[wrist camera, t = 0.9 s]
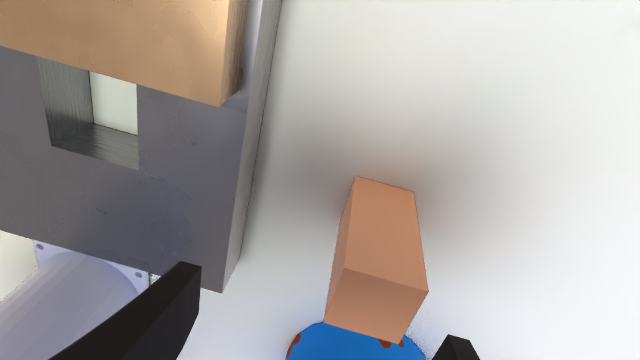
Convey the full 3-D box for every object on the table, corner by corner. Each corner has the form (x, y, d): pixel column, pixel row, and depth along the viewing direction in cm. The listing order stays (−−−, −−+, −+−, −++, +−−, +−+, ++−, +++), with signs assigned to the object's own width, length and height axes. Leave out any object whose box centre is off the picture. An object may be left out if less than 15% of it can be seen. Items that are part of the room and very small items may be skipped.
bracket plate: (239, 258, 23) (207, 322, 19) (31, 198, 24) (-47, 249, 19) (293, -73, 14) (255, -93, 10) (-48, -168, 14) (-232, -228, 10)
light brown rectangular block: (393, 237, 21) (398, 344, 15) (339, 222, 21) (323, 322, 15) (413, 192, 19) (428, 291, 13) (355, 175, 19) (344, 267, 13)
